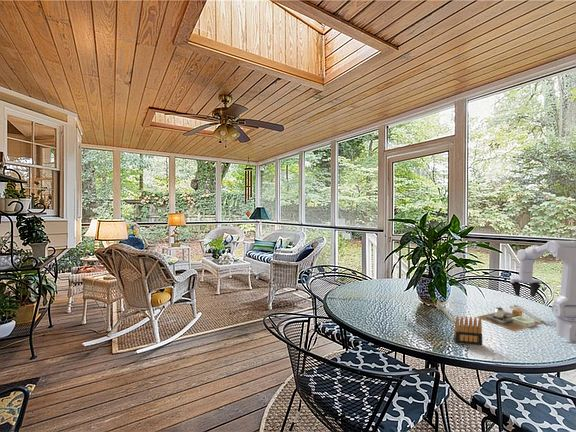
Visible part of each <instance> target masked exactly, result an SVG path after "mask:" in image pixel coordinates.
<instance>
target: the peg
mask: <svg viewBox="0 0 576 432" xmlns="http://www.w3.org/2000/svg"><path fill="white" fill-rule="evenodd" d="M504 311H505V310H504V309H503V307H501V306H497V307H495V308H494V313H495V318H496V319H498V320H504Z"/></svg>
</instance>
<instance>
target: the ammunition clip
mask: <svg viewBox="0 0 576 432" xmlns="http://www.w3.org/2000/svg"><path fill="white" fill-rule="evenodd" d="M477 319H478V320H477ZM453 343H455V344H465V345H473V346H483V327H482V319H481V318H480V317H479V318H477V316H474V318H472V316H470V317H469V318H468V316H465V318H464V316H463V315H461V316H460V318H459V315H456V317H455V324H454V333H453Z"/></svg>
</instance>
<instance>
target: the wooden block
mask: <svg viewBox="0 0 576 432" xmlns="http://www.w3.org/2000/svg"><path fill="white" fill-rule="evenodd" d="M511 310H512V312H511V313H512V314H508V315H504V318H509V317H513V316H515V317H517V316H521V317H523V312H522V311H521V310H518V309H514V308H513V309H511Z"/></svg>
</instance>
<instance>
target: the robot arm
mask: <svg viewBox="0 0 576 432" xmlns="http://www.w3.org/2000/svg"><path fill="white" fill-rule="evenodd" d="M545 253H550V254H551V255H553V257H555V258H556V259H558V260H560V261H561V262H562V271H561V283H560V284H561V285H560V295H559V296H557V297H556V298H554V299H553V303H552V305H551V313H552V315H554V316H555V318H556V321H555V335H557V336H559V337H560V338H563V339H565V340H567V341H566V343H568V344H570V343H571V344H576V240H549V241H547V242H546V243H544V244H542V245H538V244H537V245H536V244H533V245H532V246H530V247H527V248H525V249H521V248H520V249H519V250H517V253H516V255H517V258H518V259H519V268H518V269H519V270H518V273H519V274H518V277H515V278H509V282H510V284H511V286H512V289H513V291H514V295H515V296H517V297H520V295H521V294H520V293H521V292H520V290H521V288H522V284H529V288H530V289H529V291H530V293H529V294H530V296H531V297H533V298H534V297H536V294H537V292H538V290H539V289H540V288H541V286H542V285H541V284H542V280H541V279H538V278H533V276H534V275H533V274H534V264H535V262H536V259H537V258H540V257H543V256H544V255H545Z"/></svg>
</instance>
